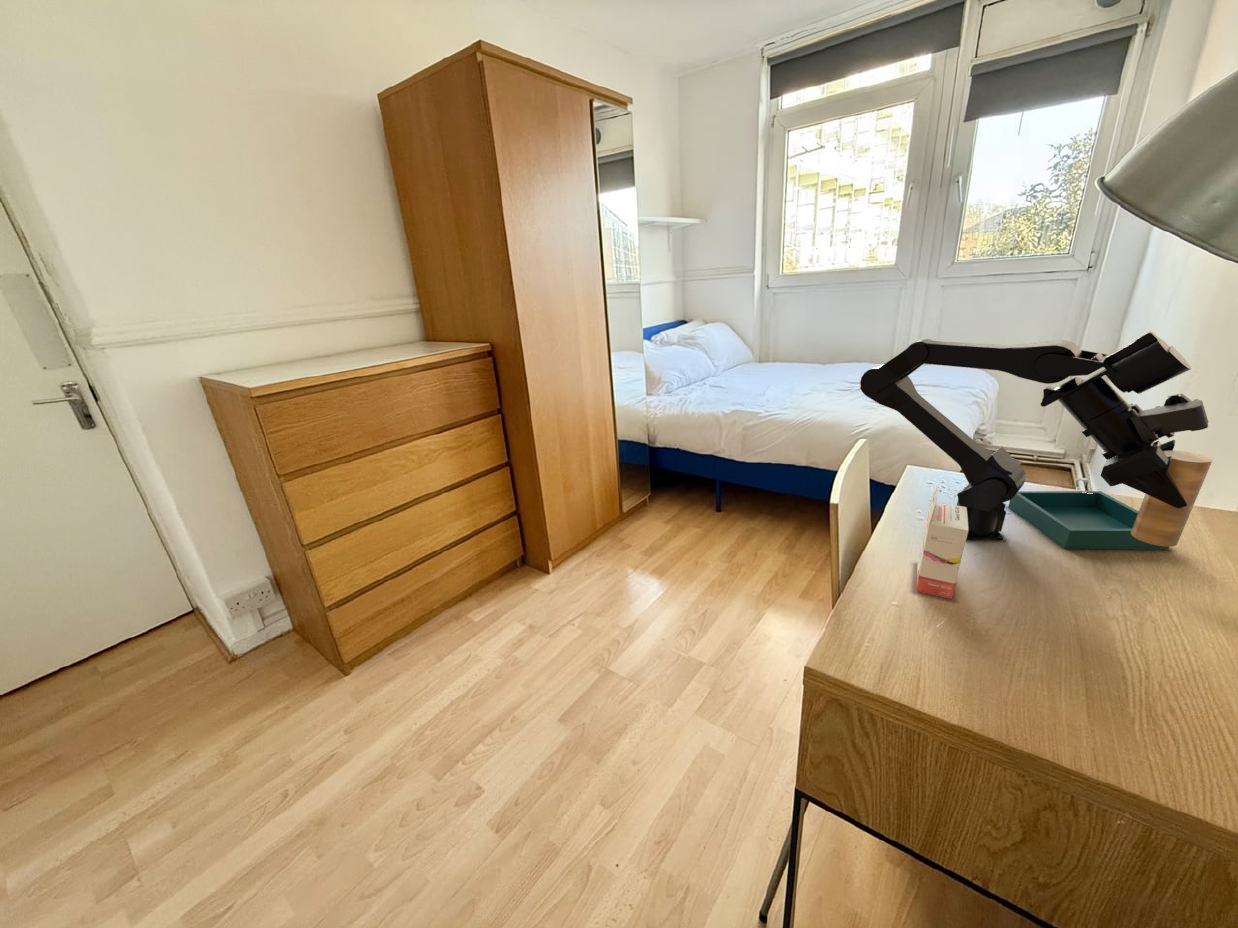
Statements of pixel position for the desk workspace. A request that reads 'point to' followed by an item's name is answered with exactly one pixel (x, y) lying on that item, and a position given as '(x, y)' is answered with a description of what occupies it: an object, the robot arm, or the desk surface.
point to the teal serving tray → (1080, 519)
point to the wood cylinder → (1162, 519)
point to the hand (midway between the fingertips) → (1183, 500)
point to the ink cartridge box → (942, 548)
